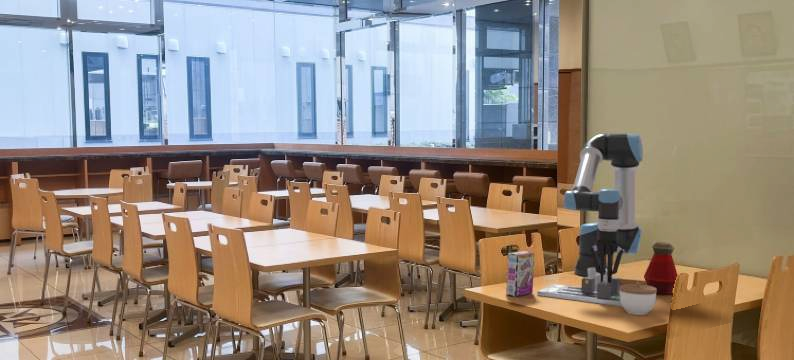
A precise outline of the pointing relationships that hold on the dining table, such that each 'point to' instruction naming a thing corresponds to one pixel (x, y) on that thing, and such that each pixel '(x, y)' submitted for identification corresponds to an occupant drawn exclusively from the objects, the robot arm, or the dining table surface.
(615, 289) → the block
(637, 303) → the lidded bowl
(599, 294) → the block
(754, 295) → the dining table surface
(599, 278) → the cup
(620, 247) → the robot arm
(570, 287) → the panel
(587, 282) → the block
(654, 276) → the bottle
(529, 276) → the candy bar box
